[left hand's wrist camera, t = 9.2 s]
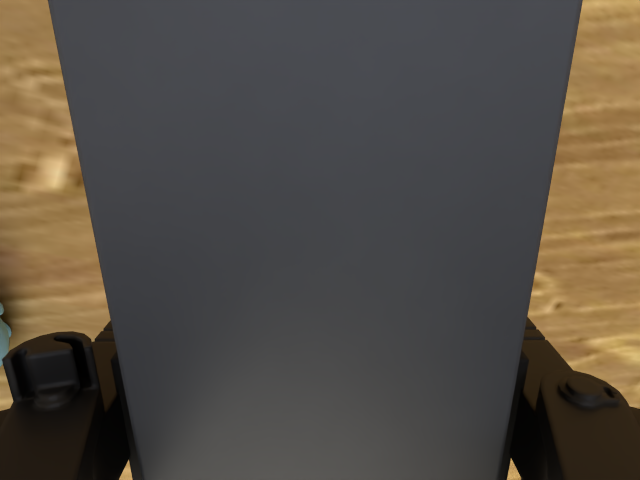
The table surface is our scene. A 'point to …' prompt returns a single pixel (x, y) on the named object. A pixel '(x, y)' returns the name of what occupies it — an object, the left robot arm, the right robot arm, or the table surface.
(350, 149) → the bar
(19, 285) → the table surface
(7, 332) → the teapot
